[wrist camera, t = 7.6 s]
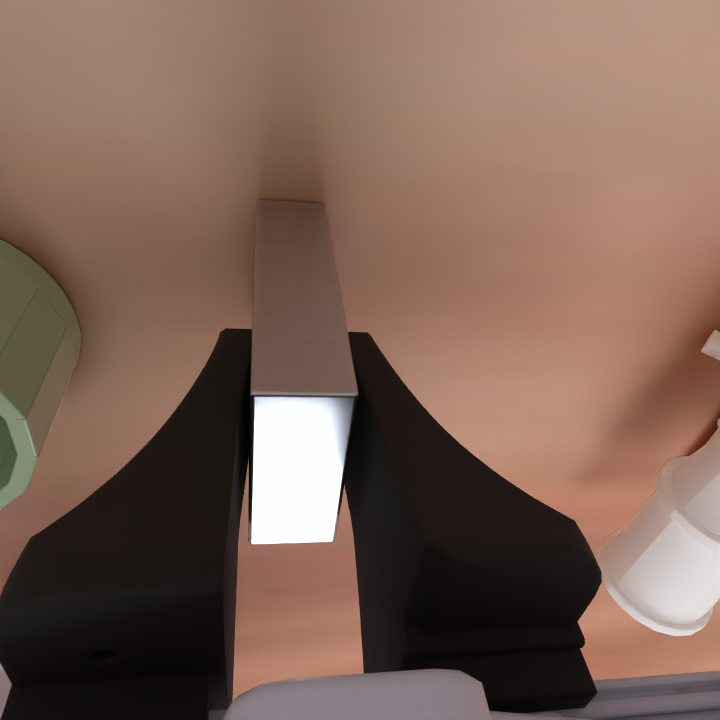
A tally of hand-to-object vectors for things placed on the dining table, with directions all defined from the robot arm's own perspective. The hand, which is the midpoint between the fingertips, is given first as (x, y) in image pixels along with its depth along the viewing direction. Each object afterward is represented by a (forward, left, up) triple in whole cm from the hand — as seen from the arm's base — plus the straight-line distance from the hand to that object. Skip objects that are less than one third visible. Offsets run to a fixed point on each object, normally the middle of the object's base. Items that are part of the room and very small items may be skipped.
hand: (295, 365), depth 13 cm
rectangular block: (0, 0, -4) cm, 4 cm away
